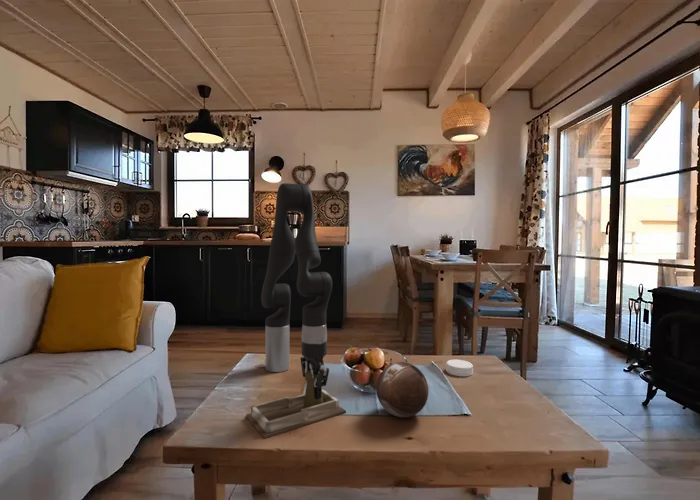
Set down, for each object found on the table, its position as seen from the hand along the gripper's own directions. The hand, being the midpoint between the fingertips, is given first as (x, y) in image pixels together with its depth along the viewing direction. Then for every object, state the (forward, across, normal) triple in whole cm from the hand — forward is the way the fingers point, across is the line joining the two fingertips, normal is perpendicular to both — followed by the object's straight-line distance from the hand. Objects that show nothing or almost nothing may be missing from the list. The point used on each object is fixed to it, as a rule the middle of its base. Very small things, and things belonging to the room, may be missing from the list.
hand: (314, 395), depth 109 cm
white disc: (+5, +4, +62) cm, 62 cm away
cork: (+3, 0, 0) cm, 3 cm away
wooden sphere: (+4, +17, +20) cm, 26 cm away
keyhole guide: (+4, 0, -5) cm, 7 cm away
